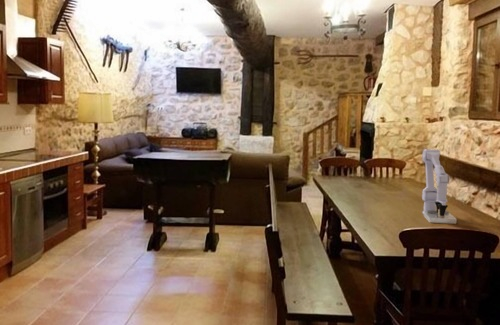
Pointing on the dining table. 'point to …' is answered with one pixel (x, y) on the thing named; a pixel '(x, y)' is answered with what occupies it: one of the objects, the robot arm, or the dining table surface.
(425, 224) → the dining table surface
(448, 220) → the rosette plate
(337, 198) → the dining table surface
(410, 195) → the dining table surface
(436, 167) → the robot arm
